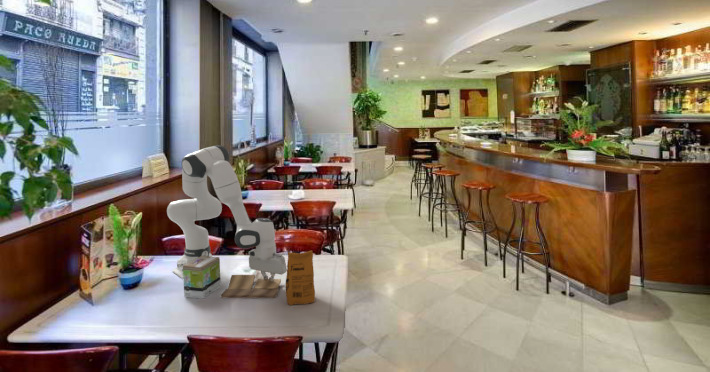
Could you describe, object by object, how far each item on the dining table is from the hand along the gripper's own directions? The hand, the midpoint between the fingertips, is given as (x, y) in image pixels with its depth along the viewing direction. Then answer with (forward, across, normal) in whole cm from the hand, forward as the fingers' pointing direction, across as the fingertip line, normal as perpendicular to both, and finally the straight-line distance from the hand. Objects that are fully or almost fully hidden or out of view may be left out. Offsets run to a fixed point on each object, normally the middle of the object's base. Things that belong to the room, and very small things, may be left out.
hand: (268, 280), depth 199 cm
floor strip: (+2, +1, +12) cm, 13 cm away
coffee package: (+3, -23, +7) cm, 24 cm away
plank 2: (+2, -1, +2) cm, 3 cm away
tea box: (+2, +22, +20) cm, 30 cm away
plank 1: (0, +9, +8) cm, 12 cm away
